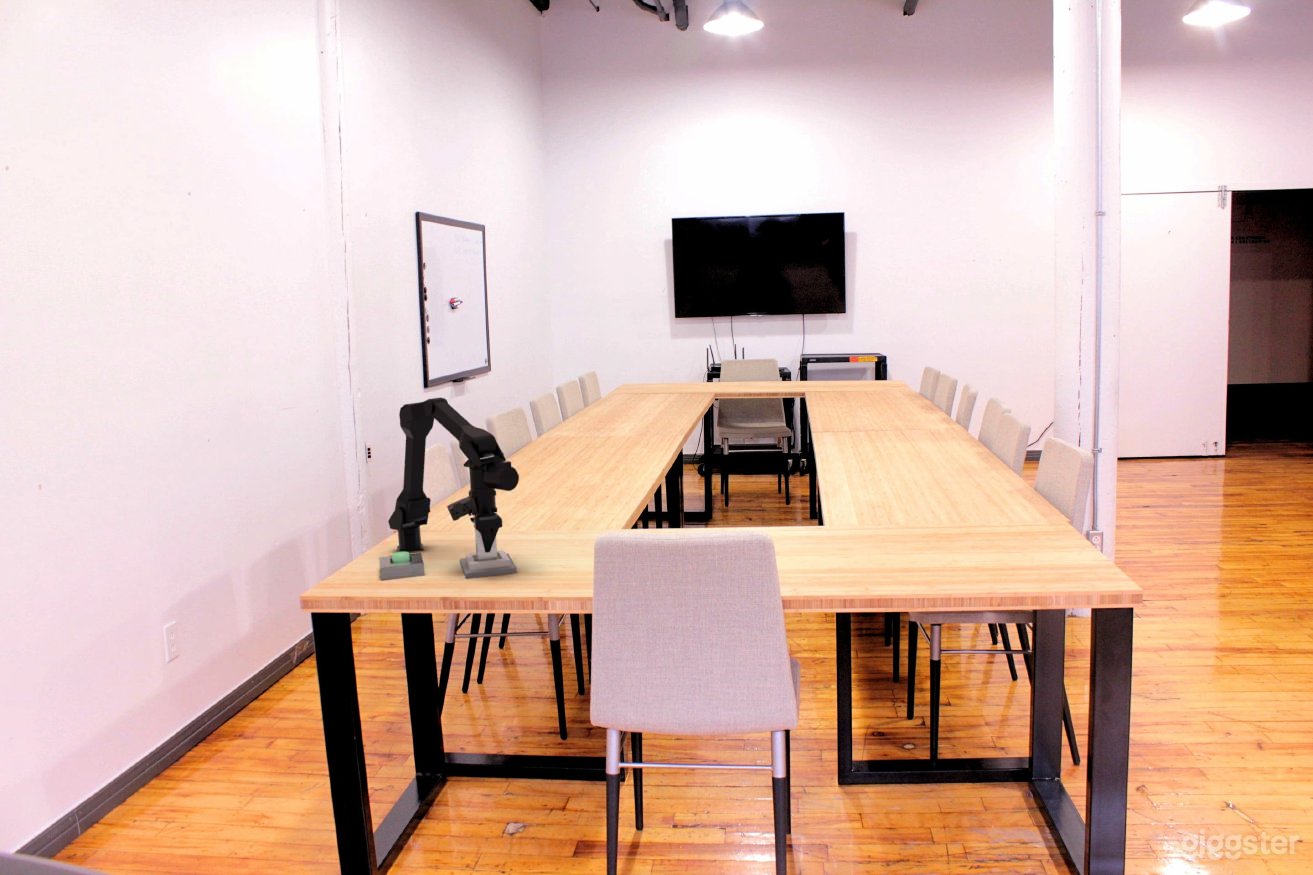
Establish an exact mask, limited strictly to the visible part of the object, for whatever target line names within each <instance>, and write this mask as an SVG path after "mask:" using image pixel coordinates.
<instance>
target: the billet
mask: <svg viewBox="0 0 1313 875" xmlns="http://www.w3.org/2000/svg"><path fill="white" fill-rule="evenodd" d="M474 535H475V536H474V538H475V540H474V541H475V553H476V556H477V559H478V561H488V560H497V551H498V547H497V546H498V545H497V544H498V543H497V536H496V537H495V540H494V542H493V545H492V548H491V551H490V552H487V553H486V552H485V549H484V545H483V541H482V537H481V533H480V532H479V531H477V530H476V529H475V528H474Z"/></svg>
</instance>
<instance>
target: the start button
mask: <svg viewBox="0 0 1313 875" xmlns="http://www.w3.org/2000/svg"><path fill="white" fill-rule="evenodd" d="M409 554H410V552H398V551H397V552H393V553H392V554H391V556H392V561H393V563H402V562H410V558H409Z"/></svg>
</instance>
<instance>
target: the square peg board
mask: <svg viewBox="0 0 1313 875" xmlns="http://www.w3.org/2000/svg"><path fill="white" fill-rule="evenodd" d="M409 558H410V562H402V563H393V561H392V555H387V556H386V555H385V556H380V557H378V560H379V573H380V575H379V576H380V580H381V581H383V580H392V579H402V578H412V577H418V576H419V577H420V576H425V566H424V559H423V554H422V552H417V553H416V552H412V553H409Z"/></svg>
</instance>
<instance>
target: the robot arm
mask: <svg viewBox="0 0 1313 875" xmlns="http://www.w3.org/2000/svg"><path fill="white" fill-rule="evenodd" d="M398 414H399V415H398V416H399V426H400V428H401V430H402V431H403V433H404V435H405V446H404V448H405V449H404V452H405V453H404V467H403V468H404V471H403V485H402V486H403V487H402V488H403V489H402V490H401V492H400V494H398V496H397V498H396V501H395V507H394V510H393V512H392V514H391V516H390V517H389V519H388V522H387V523H388V526H389V528H390V529H391V530H395V531H397V538H398V545H397V546H396V547H397V548H396V549H397V552H409V553H416V552H422V551H425V550H424V549H425V548H424V545H423V543H422V536H421V526H425V525H426V526H427V524H428V522H429V521H428V520H429V515H430V513H431V501H432V500H431V498H430V497H428V496H427V495H426V493H425V491H424V480H425V479H424V478H425V465H426V464H425V463H426V462H425V461H426V444H427V437H428V435H429V434H430V432H431V431H432V429H433V427H434V424H435V423H434V422H435V420H436V421H437V423H438V424H440V425H441V426H442V427H443V428H445V430H447V432H449V434H451V435H452V436H453V437H454V438H455V439H456V440H457V442H458V448H459V449H460V451H461V452H462V453H463V455H464V456H465V457H466V459H467V460H466V461H465V462H464V463H463V467H464V468H468V471H469V484H470V485H469V486H470V489H469V490H468V496H466V497H464V498H463V497H462V498H461V499H459V500H457V501H454V502H452V503H450V504H448V505H447V506H446V508H447V510H448V512H449V514H450V516H451V519H452V521H453V522H454V521H458V520H460V518H462V517H465V516H467V515H468V516H469V519H470V522H471V523H472V524H473V528H474V530H475V529H476V530H477V531H479V532H480V533H481V537H482V541H483V545H484V549H485V552H486V553H487V552H490V551H491V548H492V545H493V542H494V540H495V537H496V538H497V534H498V532H499V530H500V528H503V518H502V516H500V515H499V514H498V507H497V504H496V496H497V491H496V490H499V491H505V492H511V491H513V490H515V489H516V488H517V486H518V484H519V481H520V475H519V473H518V471H517V469H516V468H515V467H513V466H512V461H510V460H509V461H508V460H506V457H505V454H504V452H503V451H502V449H501V447H500V446H499V445H500V444H498V441H497V439H496V437H495V435H493V433H491V432H489V431H488V430H486V429H484V428H482V427H481V428H480V427H477V426H474V425H473V424H472V423H470V421H468V420H467V419H466V418H465V417H464V416H463V415H461V414H460V413H459V412H458V411H457V410H456V409H455V408H454V407H452V406H451V404H449V402H448V400H447V399H446V398H445V397H433V398H427V399H426V400H423V401H420V402H412V403H405V404H403V405H402V406H401V407H400V410H399V413H398ZM471 516H472V517H471Z"/></svg>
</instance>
